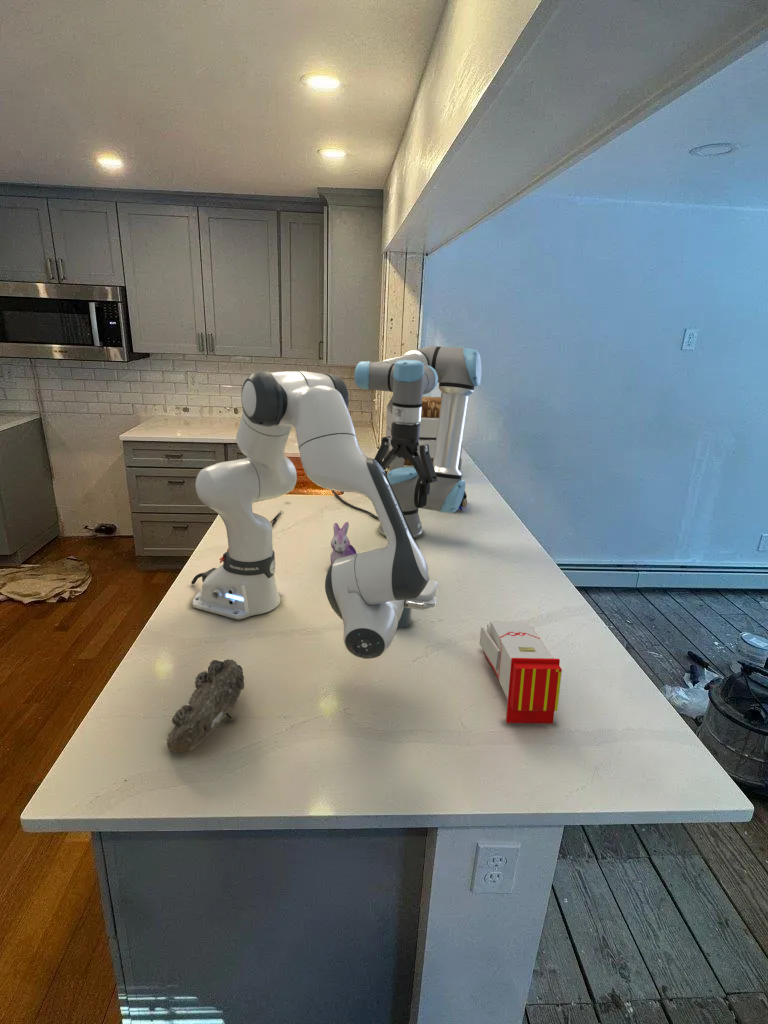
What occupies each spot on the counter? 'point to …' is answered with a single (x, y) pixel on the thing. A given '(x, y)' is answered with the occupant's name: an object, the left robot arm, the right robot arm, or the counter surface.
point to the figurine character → (463, 502)
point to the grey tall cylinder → (405, 618)
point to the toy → (523, 670)
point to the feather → (275, 519)
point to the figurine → (341, 543)
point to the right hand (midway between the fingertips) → (401, 500)
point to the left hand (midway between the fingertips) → (394, 572)
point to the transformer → (427, 429)
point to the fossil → (206, 705)
